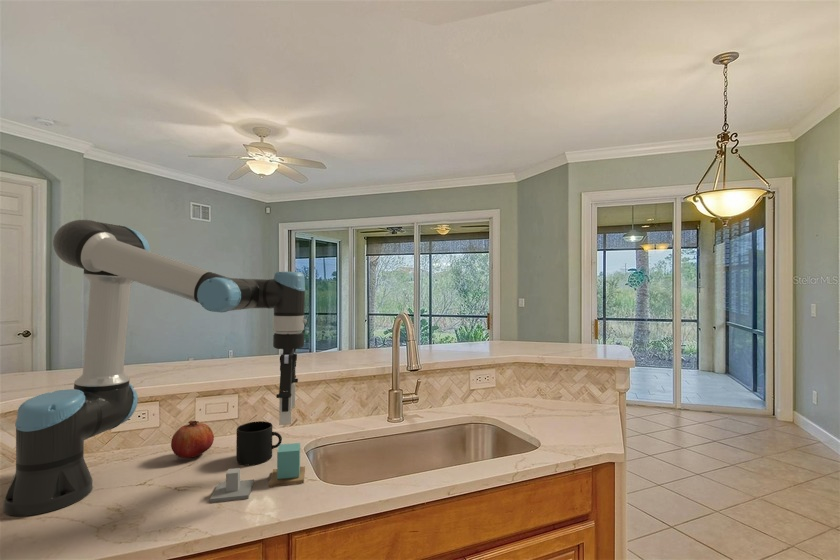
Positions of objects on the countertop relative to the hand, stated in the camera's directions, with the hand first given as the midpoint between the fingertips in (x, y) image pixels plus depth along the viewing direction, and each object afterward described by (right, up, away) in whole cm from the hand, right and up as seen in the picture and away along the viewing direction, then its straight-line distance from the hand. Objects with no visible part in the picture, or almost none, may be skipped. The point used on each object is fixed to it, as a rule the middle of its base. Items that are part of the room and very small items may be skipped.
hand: (287, 415), depth 107 cm
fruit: (-31, -16, +13) cm, 37 cm away
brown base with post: (0, -16, 0) cm, 16 cm away
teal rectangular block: (0, -15, 0) cm, 15 cm away
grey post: (-10, -16, -8) cm, 20 cm away
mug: (-12, -16, +12) cm, 23 cm away
